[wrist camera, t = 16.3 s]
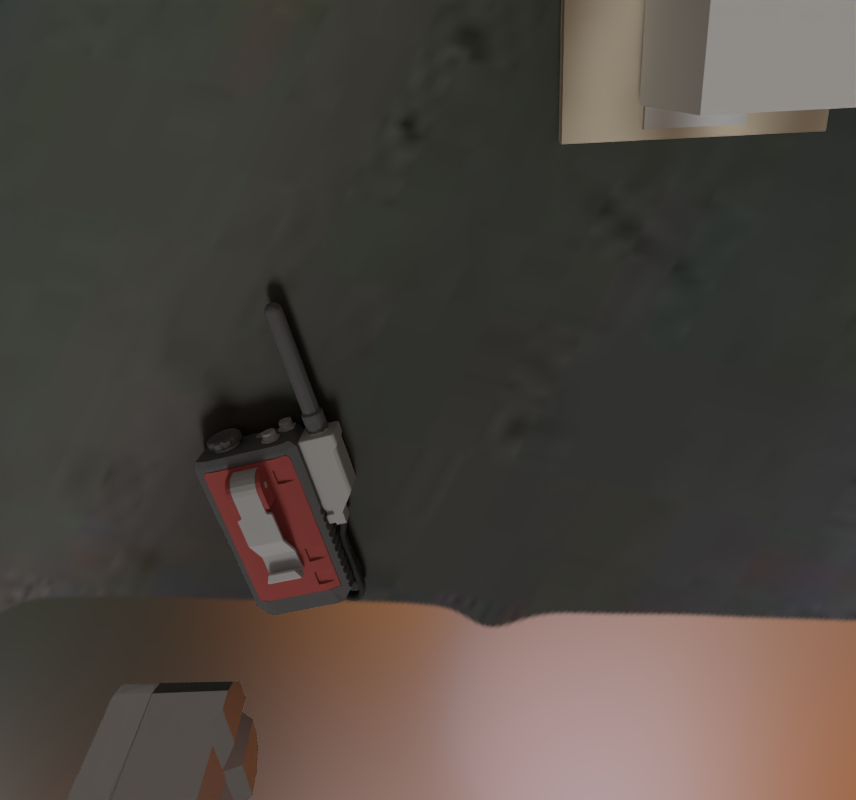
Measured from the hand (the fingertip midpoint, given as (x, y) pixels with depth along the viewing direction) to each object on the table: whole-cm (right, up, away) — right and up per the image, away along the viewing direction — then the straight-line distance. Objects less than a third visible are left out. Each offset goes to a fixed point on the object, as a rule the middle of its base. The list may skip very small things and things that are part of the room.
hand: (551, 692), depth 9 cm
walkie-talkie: (-11, 0, +35) cm, 37 cm away
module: (+10, +20, +22) cm, 31 cm away
